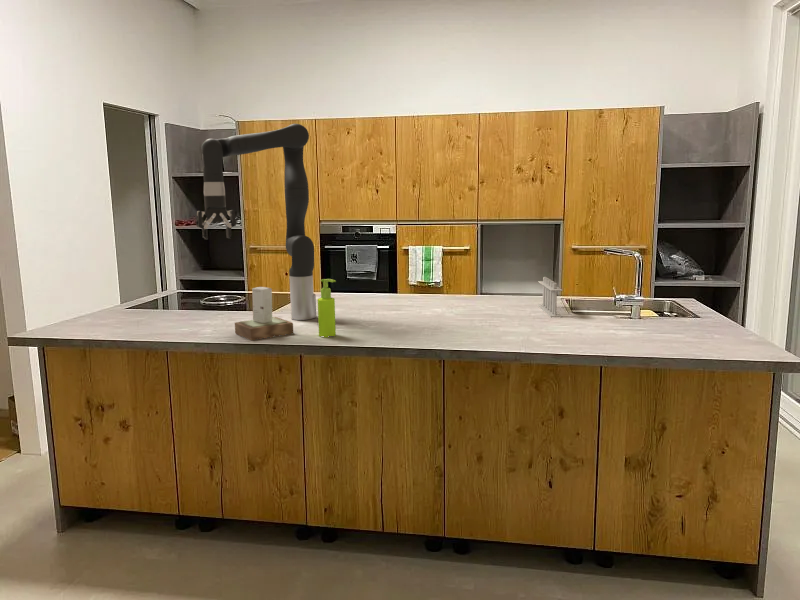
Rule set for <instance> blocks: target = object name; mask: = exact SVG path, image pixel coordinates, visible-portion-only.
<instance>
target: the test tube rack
mask: <svg viewBox="0 0 800 600" xmlns="http://www.w3.org/2000/svg"><path fill="white" fill-rule="evenodd" d="M537 282H538V283H539V284H540V285H542V303H541V304H537V307H538V308H539V309H540V310H541V309H542V310H543V311H542V310H541V311H542V312H544V313H545V314H546V315H547V316H548V317H549V318H550V317H551V318H552V317H560V319H561V318H562V314H560V313H559V312H558V311H557V306H558V305H557V302H558V300H557V299H558V298H557V297H558V292H563V289H562V288H560V287H559V286H558V283H557V282H555V281H553V280H552V279H550V278H548V277H547V276H543V278H542V280H540V281H539V280H538V281H537ZM551 318H550V319H551Z"/></svg>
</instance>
